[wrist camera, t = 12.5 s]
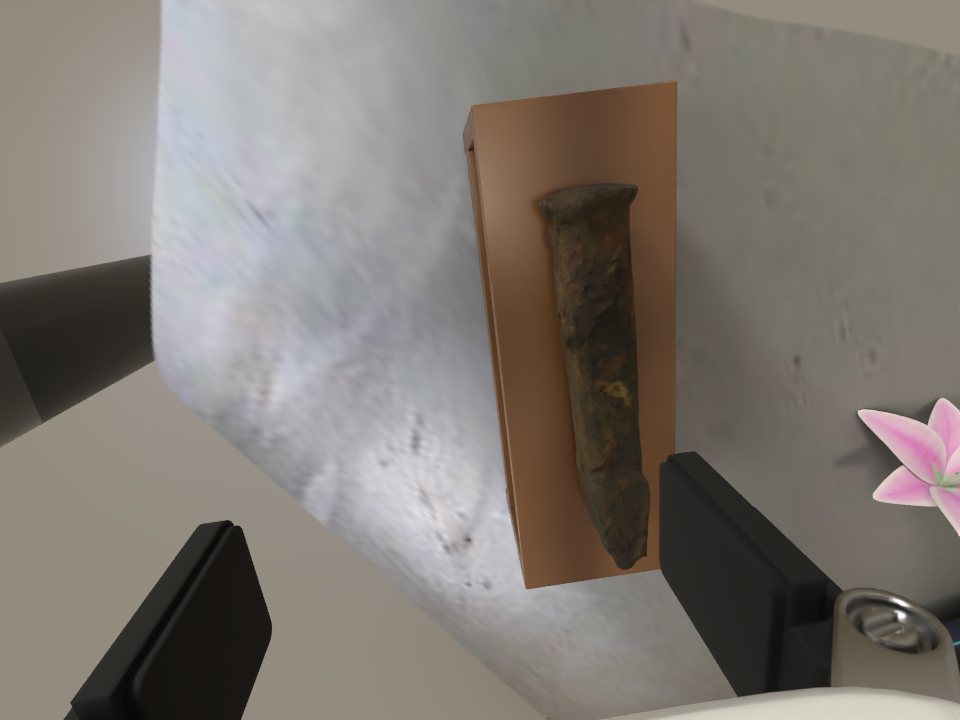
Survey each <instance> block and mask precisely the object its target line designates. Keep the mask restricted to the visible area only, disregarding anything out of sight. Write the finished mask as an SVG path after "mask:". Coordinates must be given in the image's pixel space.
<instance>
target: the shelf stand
mask: <svg viewBox="0 0 960 720" xmlns="http://www.w3.org/2000/svg"><path fill="white" fill-rule="evenodd" d="M676 108H677V82H676V81H671V82H662V83H654V84H646V85H638V86H629V87H621V88H613V89H605V90H596V91H588V92H580V93H572V94H563V95H555V96H547V97H539V98H531V99H522V100H514V101H506V102H498V103H489V104H481V105H473V106H471V109H470V113H469V116H468V119H467V122H466V126H465V129H464V132H463V139H464V147H465V153H466V154H467V161H468V169H469V177H470V186H471V194H472V203H473V211H474V219H475V228H476V236H477V244H478V253H479V261H480V270H481V278H482V286H483V295H484V303H485V311H486V320H487V328H488V336H489V345H490V353H491V362H492V370H493V378H494V387H495V395H496V403H497V412H498V420H499V429H500V437H501V445H502V454H503V462H504V470H505V479H506V487H507V489H506V497H507V503H508V508H509V513H510V517H511V522H512V527H513V531H514V536H515V541H516V545H517V550H518V555H519V560H520V564H521V569H522V574H523V578H524V583H525V587H526V589H532V588H539V587H545V586H552V585H558V584H565V583H571V582H578V581H584V580H591V579H598V578H604V577H611V576H617V575H624V574H630V573H637V572H643V571H650V570H656V569H661V567H660V562H659V469H660V464H661V463H662V462H666V459H667V457H668V456H669V455H672V454H675V288H676ZM599 183H625V184H634V185H637V187H638V192H637V195H636V197H635V199H634V201H633V202H632V204H631V205H630V245H631V262H632V273H633V283H634V306H635V326H636V341H637V363H638V399H639V418H638V419H639V429H640V442H641V449H642V472H643V475H644V476H645V478H646V479H647V480H648V484H649V490H650V512H649V519H648V539H647V557H642V558H640V559H639V560H637V561H636V563H635V564H634V566H633V567H632V568H629V569H628V570H622V569H620V568H619V567H617V565H616V563H615V561H614V559H613V557H612V556H611V555H610V554H609V553H608V552H607V551H606V550H605V548H604V546H603V544H602V542H601V538H600V536H599V534H598V530H597V529H596V527H595V526H594V525H593V524H592V521H591V518H590V515H591V514H590V512H589V507H588V504H587V500H585V498H584V494H583V492H582V487H581V483H580V478H579V474H578V469H577V464H576V458H575V453H576V441H575V433H574V425H573V418H572V410H571V398H570V391H569V384H568V376H567V368H566V360H565V353H564V348H563V338H562V335H561V329H562V321H561V318H559V317H558V314H557V297H556V293H555V287H554V284H555V276H554V265H553V263H554V255H553V251H552V250H551V249H550V248H549V246H548V245H547V240H546V239H547V234H548V228H549V221H548V220H547V219H546V217H545V216H544V214H543V213H542V211H541V210H540V208H539V201H540V200H542V199H543V198H544V197H546V196H547V195H550V194H552V193H553V192H554V191H555V190H560V189H564V188H568V187H572V186H577V185H590V184H599Z"/></svg>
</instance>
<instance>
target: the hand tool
mask: <svg viewBox="0 0 960 720" xmlns="http://www.w3.org/2000/svg"><path fill="white" fill-rule="evenodd" d="M637 192H638V187H637V185H634V184H625V183H599V184H590V185H577V186H572V187H568V188H564V189H560V190H555V191H554V192H553V193H552V194H550V195H547V196H546V197H544V198H543V199H542V200H540V201H539V208H540V210H541V211H542V213H543V214H544V216H545V217H546V219H547V220H548V221H549V228H548V234H547V239H546V240H547V245H548V246H549V248H550V249H551V250H552V251H553V255H554V263H553V265H554V276H555V284H554V287H555V293H556V297H557V314H558V317H559V318H561V321H562V329H561V335H562V338H563V348H564V353H565V360H566V368H567V376H568V384H569V391H570V398H571V410H572V418H573V425H574V433H575V441H576V453H575V458H576V464H577V469H578V474H579V478H580V483H581V487H582V492H583V494H584V498H585V500H587V504H588V507H589V512H590V514H591V515H590V518H591V521H592V524H593V525H594V526H595V527H596V529H597V530H598V534H599V536H600V538H601V542H602V544H603V546H604V548H605V550H606V551H607V552H608V553H609V554H610V555H611V556H612V557H613V559H614V561H615V563H616V565H617V567H619V568H620V569H622V570H628V569H629V568H632V567H633V566H634V564H635V563H636V561H637V560H639V559H640V558H642V557H647V539H648V519H649V512H650V490H649V484H648V480H647V479H646V478H645V476H644V475H643V472H642V449H641V442H640V429H639V419H638V418H639V399H638V363H637V341H636V326H635V306H634V283H633V273H632V262H631V245H630V205H631V204H632V202H633V201H634V199H635V197H636V195H637Z"/></svg>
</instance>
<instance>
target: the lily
mask: <svg viewBox="0 0 960 720" xmlns="http://www.w3.org/2000/svg"><path fill="white" fill-rule="evenodd" d="M858 415H859V417H860V418H861V419H862V420H863V421H864V423H865V424H866V425H867V426H868V427H869V428H870V429H871V430H872V431H873V432H874V433H875V434H876V435H877V436H878V437H879V438H880V439H881V440H882V441H883V442H884V443H885V444H886V445H887V446H888V447H889V448H890V450H891V451H892V452H893V453H894V454H895V455H896V456H897V457H898V458H899V459H900V461H901V462H902V463H903V464H904V465H903V466H900V467H899V468H898V469H896V470H895V471H894V472H892V473H891V474H890V475H889V476H888V477H887V478H886V479H885V480H884V481H883V482H882V483H881V484H880V486H879V487H878V488H877V489H876V491H875V492H874V493H873V499H875V500H877V501H881V502H887V503H895V504H903V505H915V506H938V507H939V508H940V510H941V511H942V512H943V514H944V515H945V516H946V518H947V519H948V520H949V522H950V523H951V524H952V526H953V527H954V528H955V530H956V531H957V533H958V534H959V536H960V412H959V410H958V409H957V408H956V407H955V406H954V405H953V404H952V403H950V402H949V401H948V400H946V399H944V398H940V399H939V400H938V401H937V403H936V405H935V407H934V409H933V411H932V413H931V416H930V419H929V422H928V426H927V425H925V424H923V423H921V422H919V421H916V420H913V419H910V418H907V417H903V416H899V415H895V414H891V413H886V412H881V411H875V410H866V409H862V410H858Z"/></svg>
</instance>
